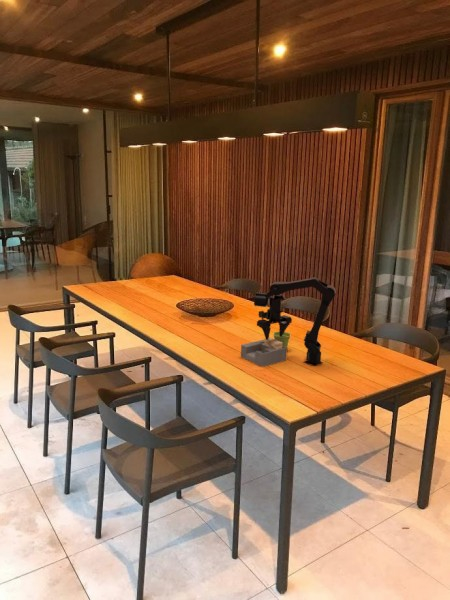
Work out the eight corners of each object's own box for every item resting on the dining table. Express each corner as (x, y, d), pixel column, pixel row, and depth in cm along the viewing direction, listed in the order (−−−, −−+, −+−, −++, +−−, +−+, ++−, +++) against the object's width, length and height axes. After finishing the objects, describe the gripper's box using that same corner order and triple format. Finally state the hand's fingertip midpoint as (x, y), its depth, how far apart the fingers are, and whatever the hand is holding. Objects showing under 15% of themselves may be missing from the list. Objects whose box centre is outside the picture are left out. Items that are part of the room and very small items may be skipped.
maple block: (282, 349, 238) (282, 342, 237) (276, 350, 235) (276, 343, 235) (270, 344, 245) (270, 337, 244) (264, 345, 242) (264, 338, 242)
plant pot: (292, 349, 256) (293, 333, 254) (285, 354, 248) (286, 338, 246) (276, 345, 260) (277, 330, 258) (269, 350, 252) (270, 334, 250)
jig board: (286, 360, 239) (286, 347, 237) (261, 366, 229) (262, 353, 228) (264, 351, 251) (265, 339, 249) (240, 357, 241) (241, 344, 240)
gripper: (277, 302, 247) (276, 331, 251) (250, 306, 236) (248, 337, 240) (293, 306, 238) (291, 336, 242) (265, 311, 227) (263, 343, 231)
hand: (273, 338), depth 239 cm, fingers open, 9 cm apart
